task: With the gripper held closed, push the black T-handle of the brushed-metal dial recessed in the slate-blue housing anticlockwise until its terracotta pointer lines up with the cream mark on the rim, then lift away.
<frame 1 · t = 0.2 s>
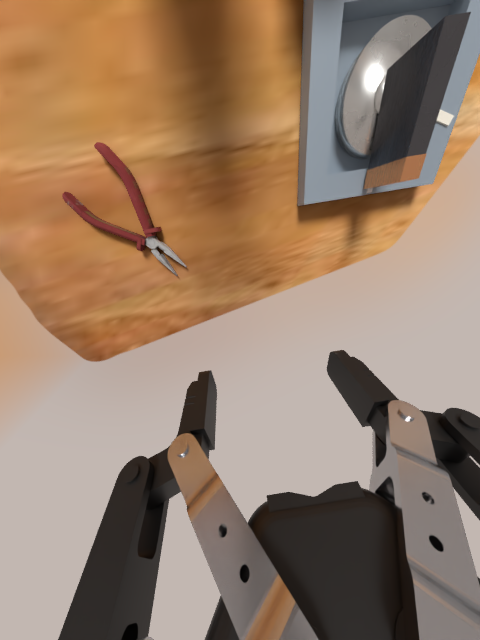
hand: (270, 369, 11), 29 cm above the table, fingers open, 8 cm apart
pliers: (131, 227, 31), on the table
dial: (399, 107, 22), point 5 cm above the table, hinge at 0.0°
housing: (372, 106, 25), on the table
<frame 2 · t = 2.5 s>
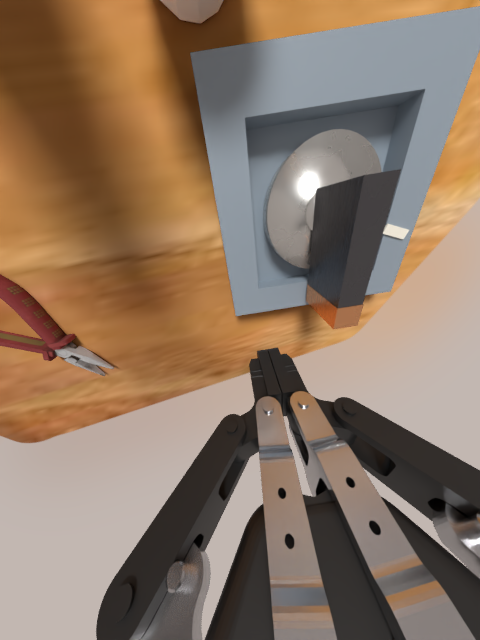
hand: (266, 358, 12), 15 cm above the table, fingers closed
pliers: (40, 333, 27), on the table
dial: (332, 235, 17), point 5 cm above the table, hinge at 0.0°
housing: (310, 211, 20), on the table
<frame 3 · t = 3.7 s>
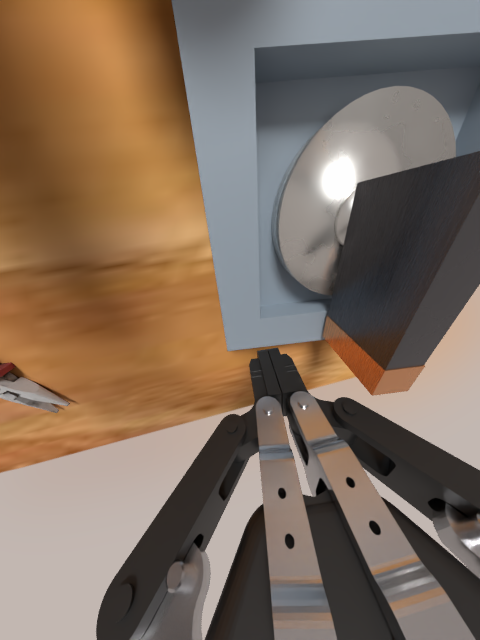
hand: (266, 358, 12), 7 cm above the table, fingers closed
dial: (377, 254, 11), point 5 cm above the table, hinge at 0.0°
housing: (337, 217, 15), on the table
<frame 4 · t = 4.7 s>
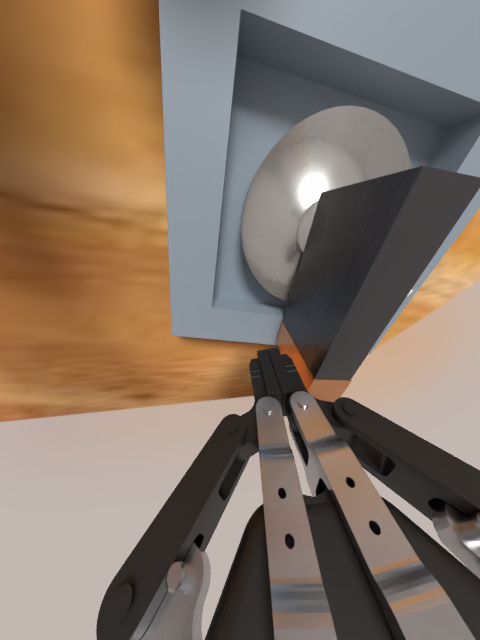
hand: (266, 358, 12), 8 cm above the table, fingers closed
dial: (329, 266, 11), point 5 cm above the table, hinge at 3.0°, touching gripper
housing: (306, 227, 15), on the table
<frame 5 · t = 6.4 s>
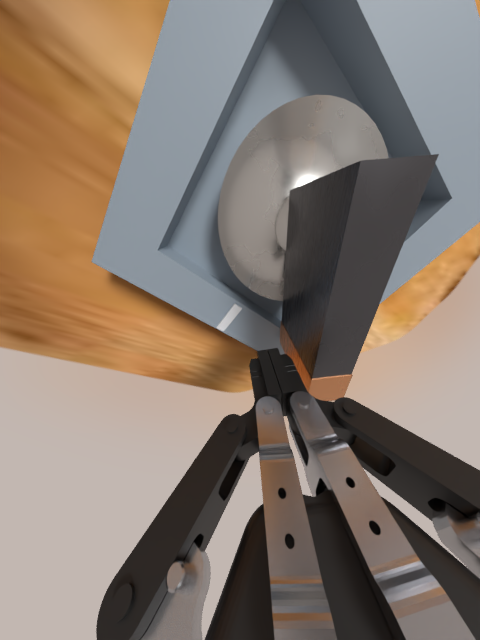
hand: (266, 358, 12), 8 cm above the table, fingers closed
dial: (312, 262, 11), point 5 cm above the table, hinge at 40.7°, touching gripper
housing: (289, 223, 15), on the table
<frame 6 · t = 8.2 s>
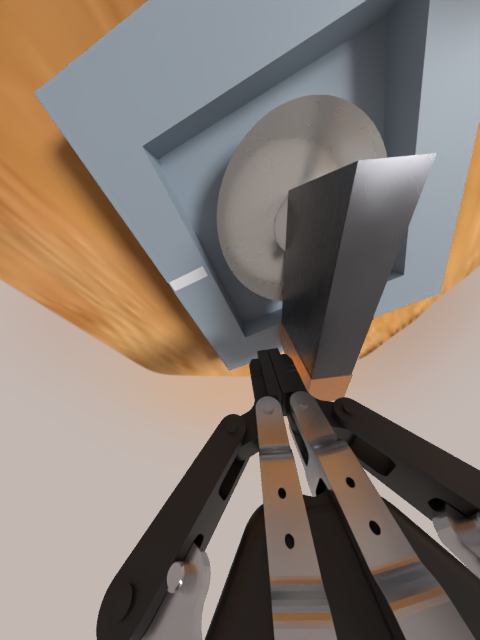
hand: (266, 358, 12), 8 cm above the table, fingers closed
dial: (311, 262, 11), point 5 cm above the table, hinge at 71.0°, touching gripper
housing: (288, 223, 15), on the table
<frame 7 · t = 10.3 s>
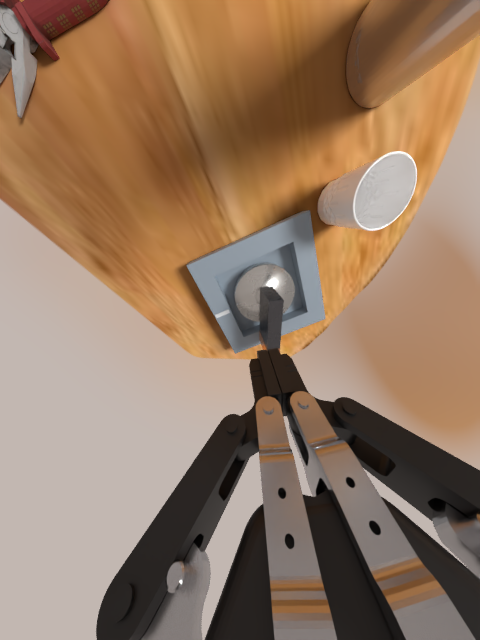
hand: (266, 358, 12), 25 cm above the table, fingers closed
white cup: (335, 202, 30), on the table
dial: (268, 310, 32), point 5 cm above the table, hinge at 71.5°
housing: (261, 290, 36), on the table
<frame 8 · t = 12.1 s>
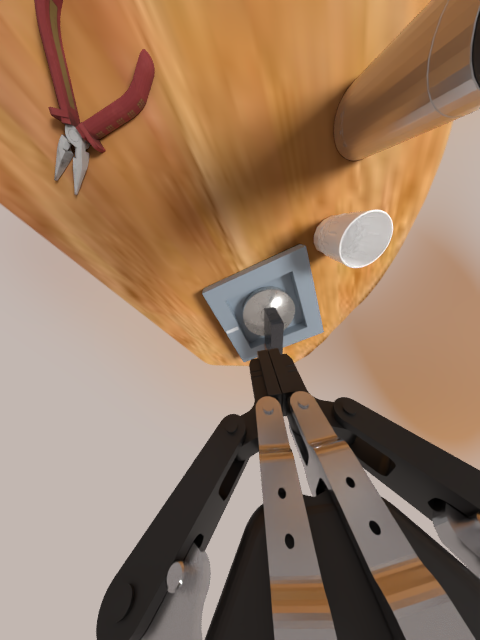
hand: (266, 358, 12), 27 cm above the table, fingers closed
white cup: (329, 235, 34), on the table
pliers: (81, 99, 23), on the table
dial: (271, 328, 38), point 5 cm above the table, hinge at 71.5°
housing: (266, 308, 41), on the table
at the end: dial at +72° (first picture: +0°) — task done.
